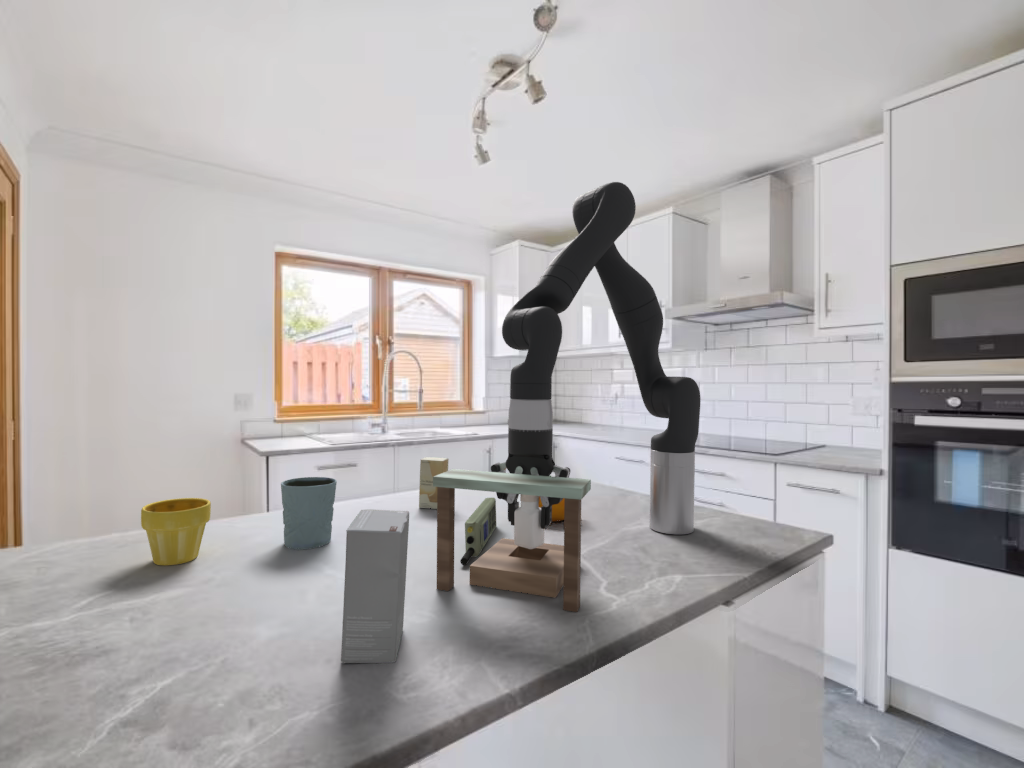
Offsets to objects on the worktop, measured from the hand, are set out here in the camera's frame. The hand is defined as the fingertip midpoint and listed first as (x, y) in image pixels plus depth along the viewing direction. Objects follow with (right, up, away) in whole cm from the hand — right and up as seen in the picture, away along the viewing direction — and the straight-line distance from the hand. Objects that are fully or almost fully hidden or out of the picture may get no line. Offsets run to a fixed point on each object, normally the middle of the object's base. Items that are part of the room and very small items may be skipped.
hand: (529, 525), depth 88 cm
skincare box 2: (-23, -7, +42) cm, 48 cm away
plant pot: (-62, -7, +4) cm, 63 cm away
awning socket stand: (-1, -8, -3) cm, 8 cm away
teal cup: (-43, -7, +14) cm, 46 cm away
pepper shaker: (0, -4, 0) cm, 4 cm away
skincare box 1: (-19, -8, -25) cm, 33 cm away
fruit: (+6, -7, +33) cm, 34 cm away
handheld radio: (-9, -8, +14) cm, 18 cm away
